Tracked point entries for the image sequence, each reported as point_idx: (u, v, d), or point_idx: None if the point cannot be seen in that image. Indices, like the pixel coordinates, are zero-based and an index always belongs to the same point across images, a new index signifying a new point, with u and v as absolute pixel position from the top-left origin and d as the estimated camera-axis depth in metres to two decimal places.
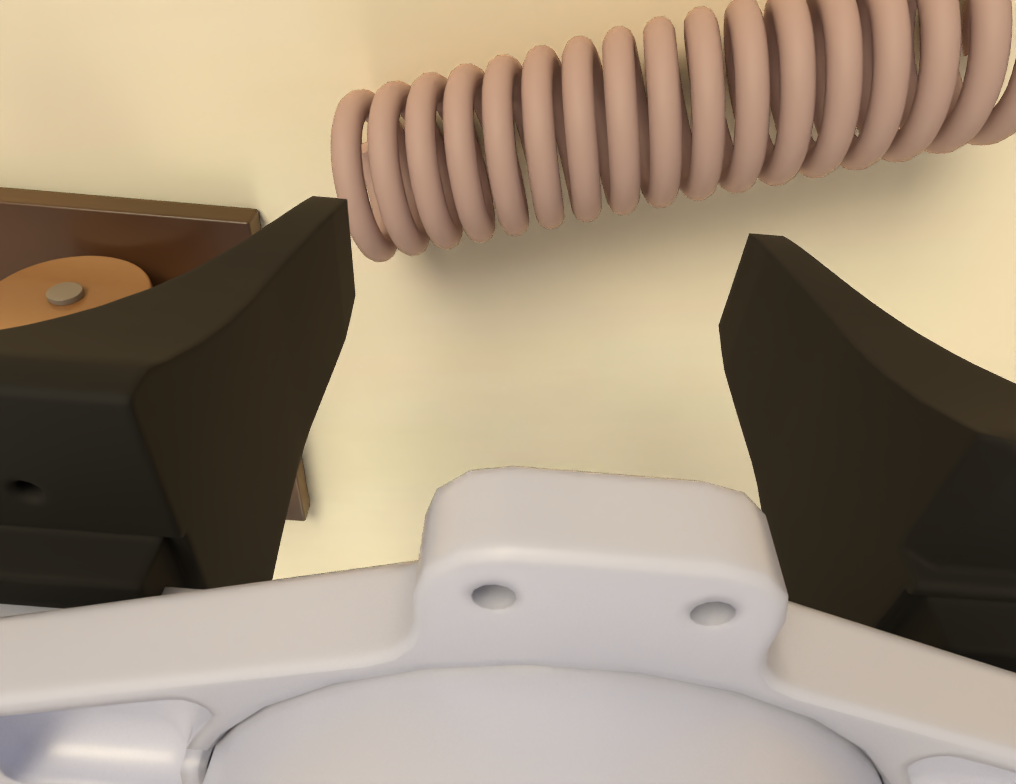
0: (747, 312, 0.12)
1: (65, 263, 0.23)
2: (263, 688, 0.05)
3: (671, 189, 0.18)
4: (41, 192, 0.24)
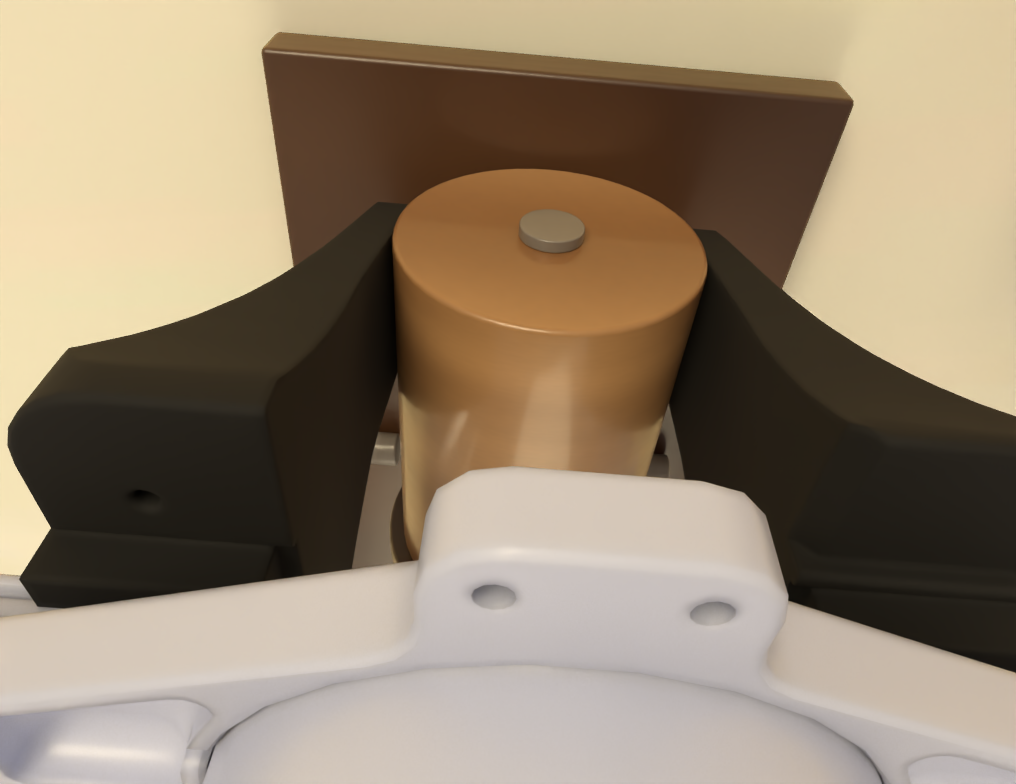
0: None
1: (499, 180, 0.12)
2: (263, 688, 0.05)
3: None
4: (442, 48, 0.13)
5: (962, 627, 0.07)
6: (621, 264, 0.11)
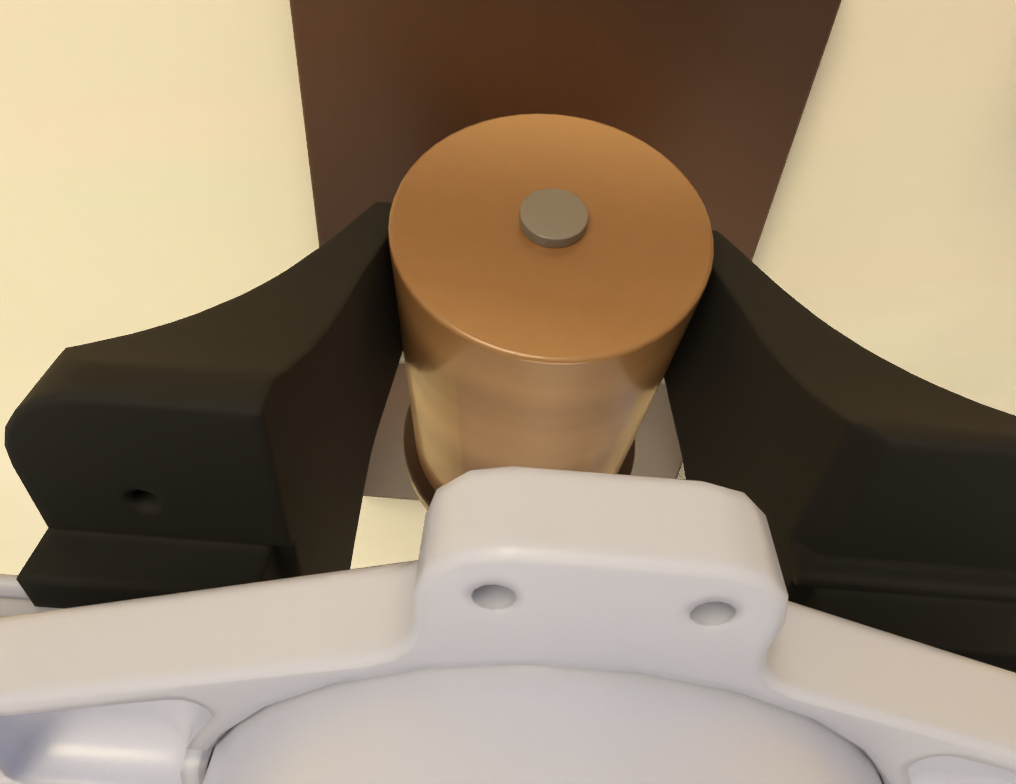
0: None
1: (500, 136, 0.11)
2: (263, 688, 0.05)
3: None
4: None
5: (964, 627, 0.07)
6: (623, 262, 0.10)
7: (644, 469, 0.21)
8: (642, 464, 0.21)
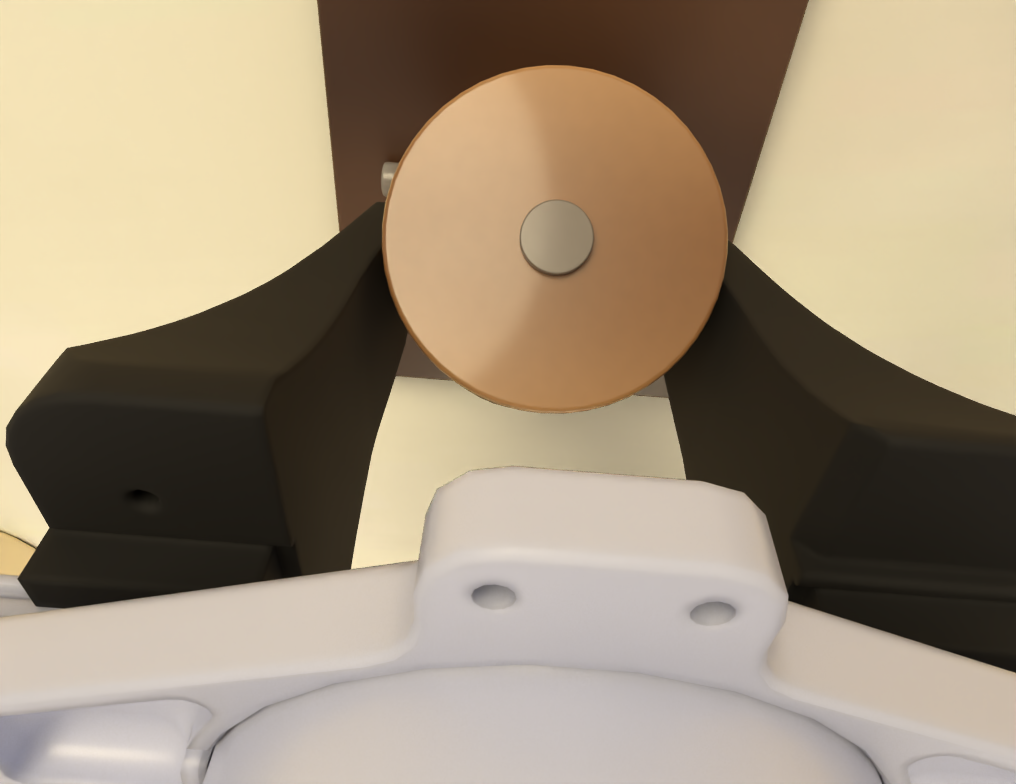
0: None
1: (502, 107, 0.10)
2: (263, 688, 0.05)
3: None
4: None
5: (965, 627, 0.07)
6: (627, 292, 0.10)
7: None
8: None
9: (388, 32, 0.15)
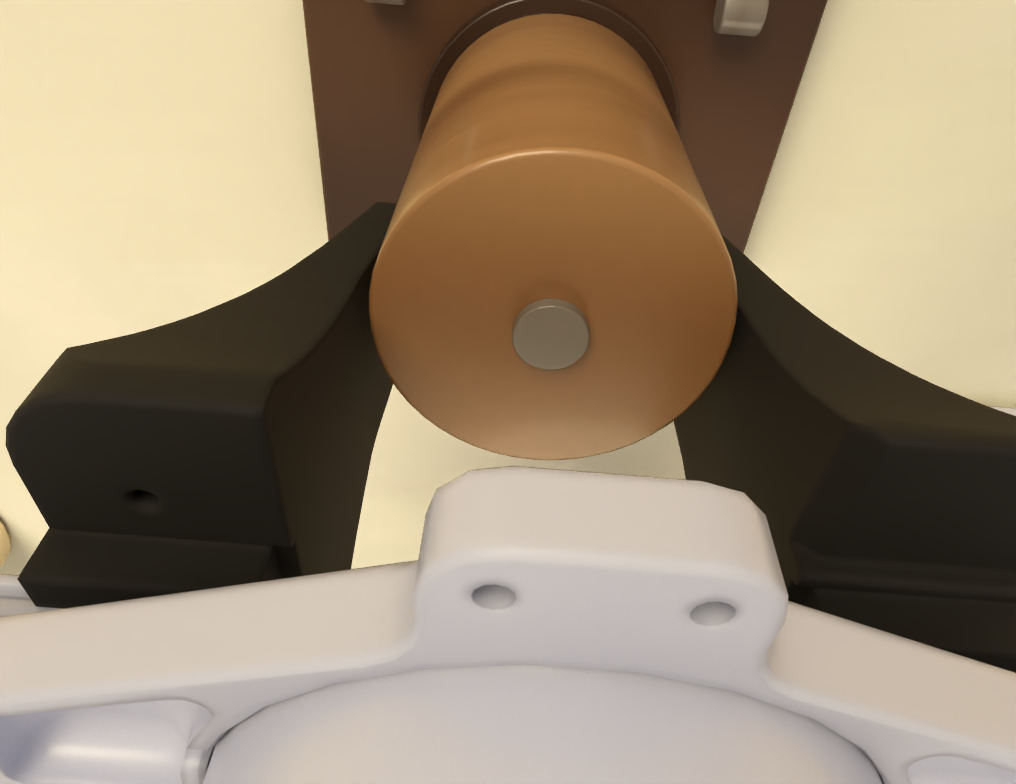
0: None
1: (491, 201, 0.08)
2: (263, 688, 0.05)
3: None
4: None
5: (964, 627, 0.07)
6: (621, 375, 0.10)
7: (711, 210, 0.16)
8: (709, 201, 0.16)
9: None
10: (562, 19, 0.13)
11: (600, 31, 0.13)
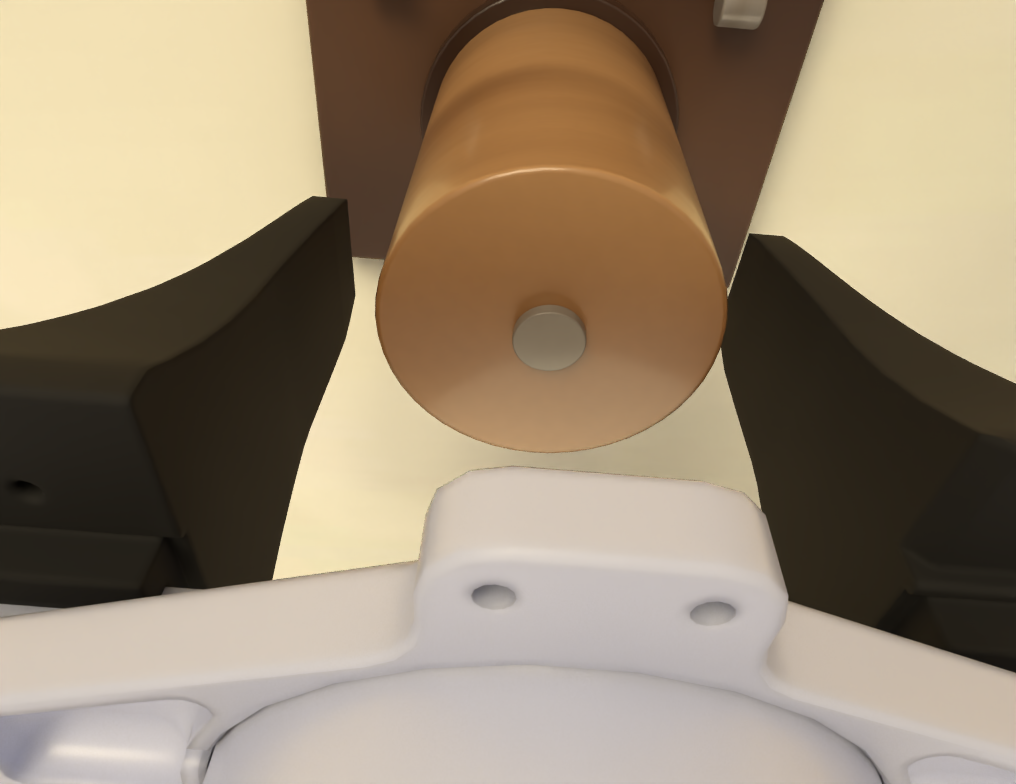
0: (747, 312, 0.12)
1: (492, 215, 0.09)
2: (263, 688, 0.05)
3: None
4: None
5: None
6: (616, 375, 0.10)
7: (711, 203, 0.17)
8: (708, 194, 0.16)
9: None
10: (563, 15, 0.13)
11: (600, 27, 0.13)
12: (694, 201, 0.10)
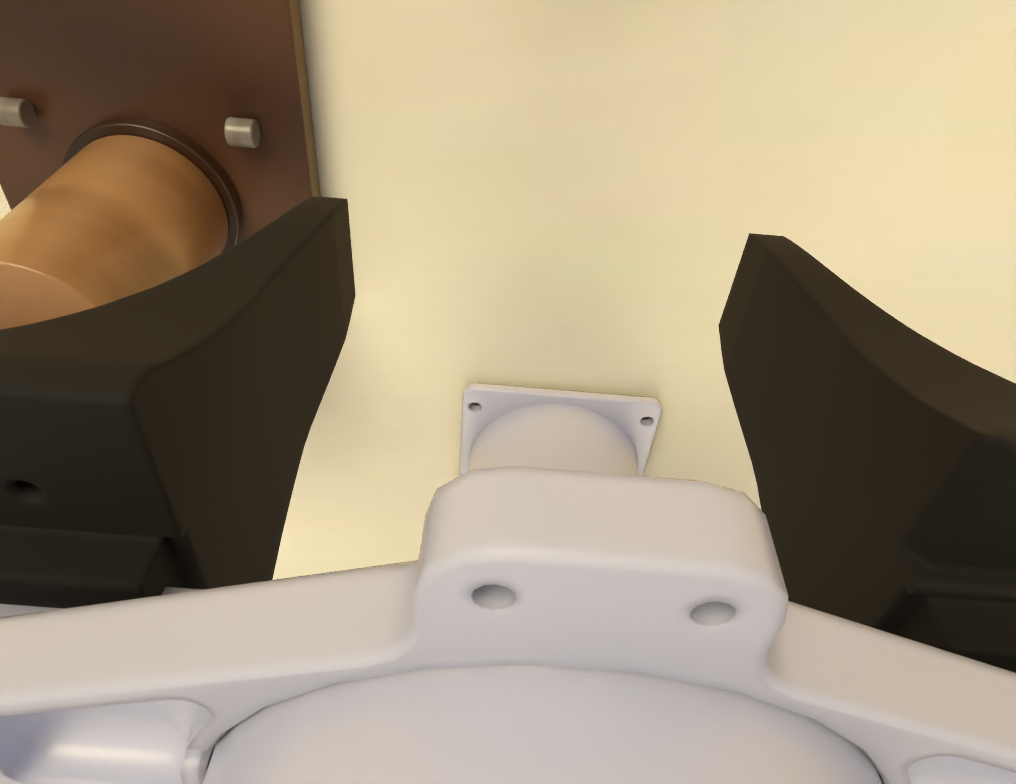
0: (748, 312, 0.12)
1: None
2: (263, 688, 0.05)
3: None
4: None
5: None
6: None
7: None
8: None
9: None
10: (123, 141, 0.21)
11: (144, 149, 0.21)
12: (106, 273, 0.17)
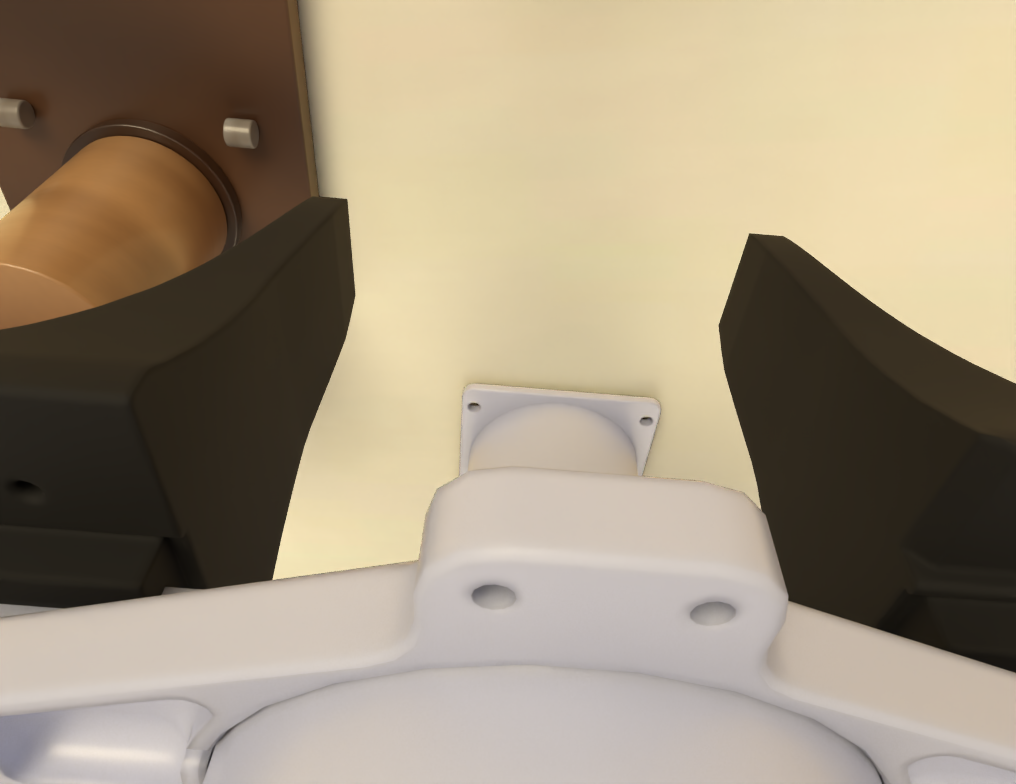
0: (748, 312, 0.12)
1: None
2: (263, 689, 0.05)
3: None
4: None
5: None
6: None
7: None
8: None
9: None
10: (121, 142, 0.21)
11: (143, 150, 0.21)
12: (104, 274, 0.17)
